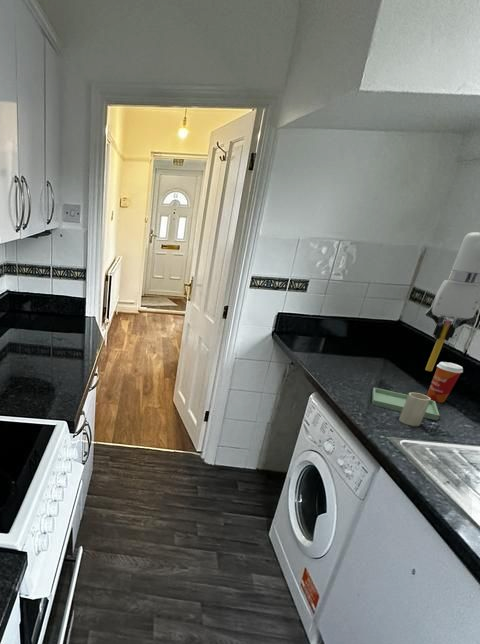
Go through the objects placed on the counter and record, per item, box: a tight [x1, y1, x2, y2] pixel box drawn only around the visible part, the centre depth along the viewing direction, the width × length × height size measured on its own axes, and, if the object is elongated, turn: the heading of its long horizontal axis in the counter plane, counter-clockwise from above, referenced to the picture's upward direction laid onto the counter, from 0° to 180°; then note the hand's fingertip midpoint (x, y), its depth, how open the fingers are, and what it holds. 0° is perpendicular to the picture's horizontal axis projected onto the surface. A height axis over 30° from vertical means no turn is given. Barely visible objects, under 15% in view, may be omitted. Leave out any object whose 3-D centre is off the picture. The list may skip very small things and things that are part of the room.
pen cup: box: [398, 391, 431, 427], centre depth 135 cm, size 6×6×10 cm
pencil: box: [424, 319, 453, 372], centre depth 128 cm, size 2×2×16 cm
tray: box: [371, 387, 441, 422], centre depth 149 cm, size 19×14×2 cm
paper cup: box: [426, 361, 464, 403], centre depth 153 cm, size 8×8×14 cm
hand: (441, 338), depth 127 cm, fingers closed on pencil, 1 cm apart
